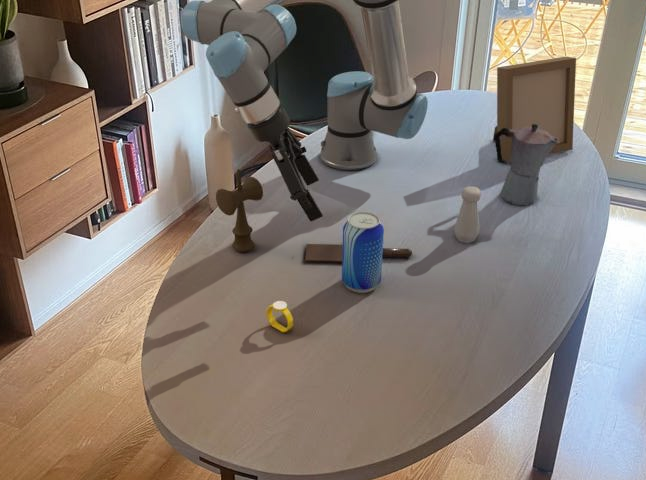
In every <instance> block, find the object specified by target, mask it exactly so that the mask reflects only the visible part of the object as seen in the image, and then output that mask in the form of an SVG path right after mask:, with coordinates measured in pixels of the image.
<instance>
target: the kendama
mask: <svg viewBox="0 0 646 480" xmlns="http://www.w3.org/2000/svg"><path fill="white" fill-rule="evenodd" d="M263 196H264V191H263V186H262V184H261V182H260V181H259V180H258V179H257V178H256V177H254V176H248V177H246V178H245V179H244V181H243V182H242V177H241V171H240V169H239V168H237V169H236V189H234V190H228V189H225V188H220V189H217V190H216V192H215V200H216V204H217V206H218V207H217V208H218V209H219V210H220V211H221V212H222V213H223V214H224V215H226V216H234V214H235V213H236V219H235V225H234V227H233V228H232V230H231V231H232V233H233V236H234V240H233V242H232V243H231V248H232V250H234V251H235V252H238V253H248V252H250V251H251V250H253V249H254V248H255V246H256V244H255V241H253V239H252V237H251V236H252V233H253V227H252V226H251V225H249V222H248V217H247V214H246V209H245V203H244V202H245V201H248V200H249V201H254V202H255V201H257V202H258V201H261V200H262V199H263Z"/></svg>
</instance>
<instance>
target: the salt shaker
mask: <svg viewBox="0 0 646 480" xmlns="http://www.w3.org/2000/svg"><path fill="white" fill-rule="evenodd" d="M481 196H482V192H481V190H480V189H479V188H478V187H476V186H466V187H464V188H463V189H462V191H461V199H462V202H461V206H460V208H459V212H458V215H457V218H456V221H455V224H454V228H453V231H454V234H455V237H456V239H457V240H458V242H460V243H463V244H464V243H465V244H470V243H473V242H475V240H476V239H477V237H478V236H479V233H480V221H479V208H478V202H479V201H480V200H481Z"/></svg>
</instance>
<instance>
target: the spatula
mask: <svg viewBox="0 0 646 480" xmlns="http://www.w3.org/2000/svg"><path fill="white" fill-rule="evenodd" d="M342 251H343V244H330V243H329V244H328V243H327V244H326V243H324V244H323V243H306V250H305V258H304V263H305V264H306V263H307V264H342ZM412 256H413V251H412V250H411V249H410V248H399V247H398V248H396V247H395V248H394V247H393V248H392V247H383V253H382V258H406V259H407V258H411V257H412Z"/></svg>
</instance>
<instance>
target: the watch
mask: <svg viewBox="0 0 646 480" xmlns="http://www.w3.org/2000/svg"><path fill="white" fill-rule="evenodd" d="M273 311H275V312H277V313H282V314H283V315H284V317H285V319H286V322H287V327H285V326H284V325H282V323H281V324H280V323H279V322H278V321H277V320H276V318H275V317H274V314H273ZM266 318H267V320H268V322H269V324H270V325H271V327H273V328H274V329H276V330H277V331H280V332H281V333H287V332H289V330H291V329H292V328H293V326H294V319H293V318H294V317H293V315H292V313H291V312H290V310H289V309H288V304H287V302H285V301H283V300H277V301H274V302H273V303H272V304H271V305H269V306H268V307H267V308H266Z"/></svg>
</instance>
